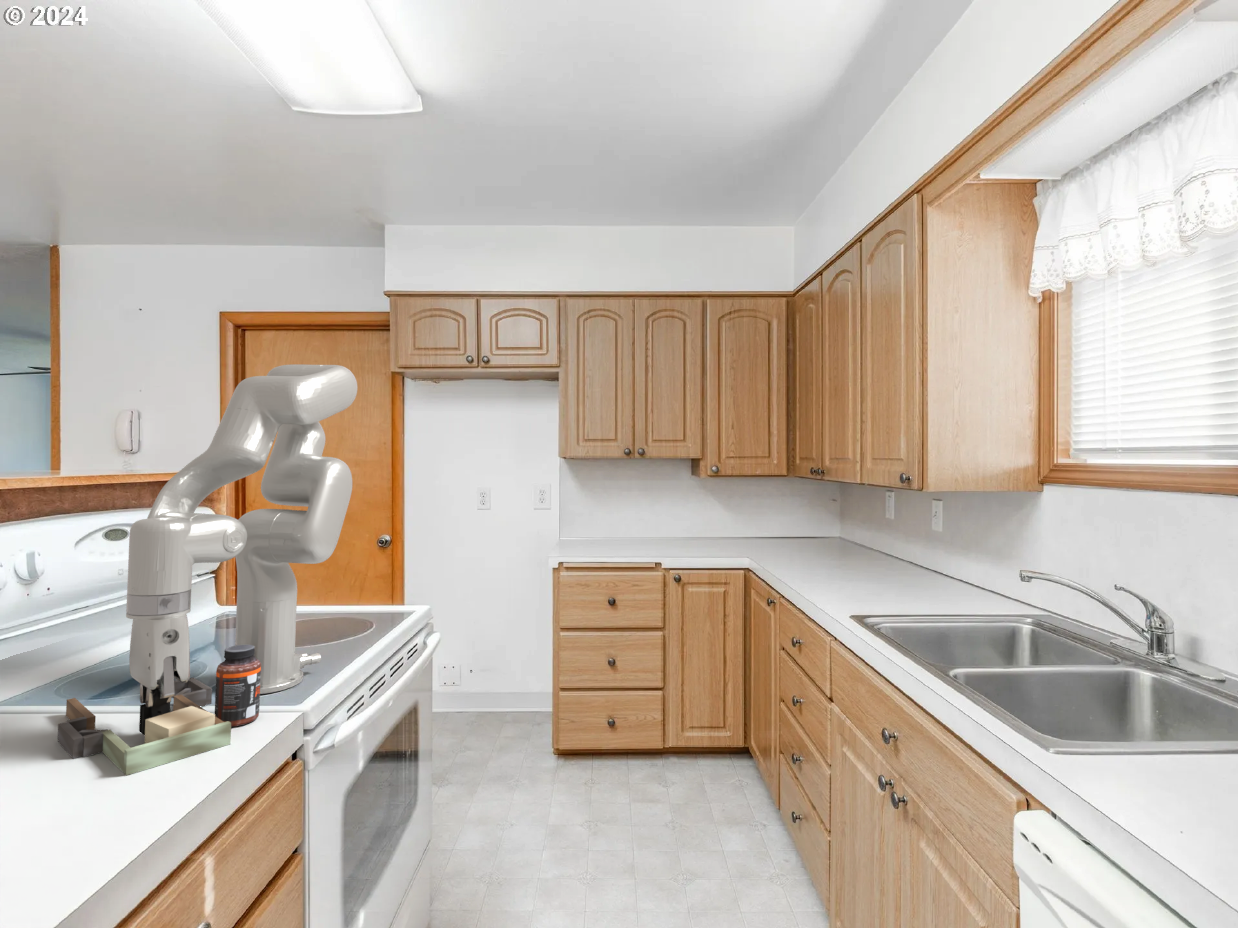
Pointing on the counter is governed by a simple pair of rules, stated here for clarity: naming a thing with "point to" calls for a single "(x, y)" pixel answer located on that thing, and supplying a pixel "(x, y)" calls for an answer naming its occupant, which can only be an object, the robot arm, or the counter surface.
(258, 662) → the supplement bottle
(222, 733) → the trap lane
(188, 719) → the block
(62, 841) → the counter surface
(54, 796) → the counter surface
